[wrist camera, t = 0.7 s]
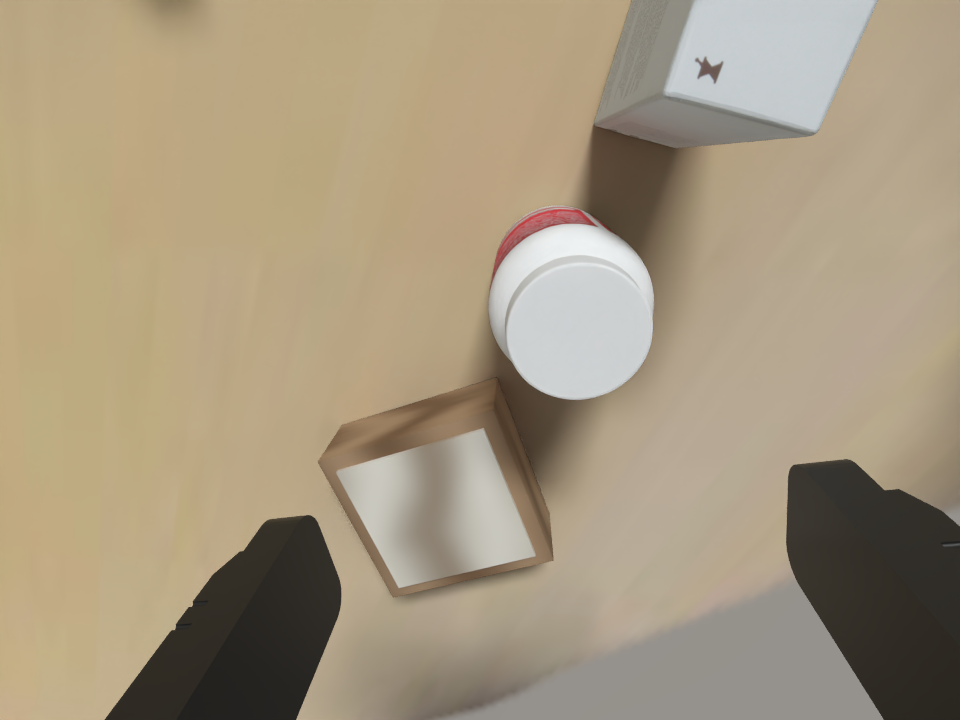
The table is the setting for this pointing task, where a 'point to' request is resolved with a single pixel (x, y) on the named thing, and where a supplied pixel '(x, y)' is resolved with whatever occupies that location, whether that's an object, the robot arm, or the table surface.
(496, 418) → the base
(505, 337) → the pill bottle
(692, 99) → the skincare box
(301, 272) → the table surface
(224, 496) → the table surface
